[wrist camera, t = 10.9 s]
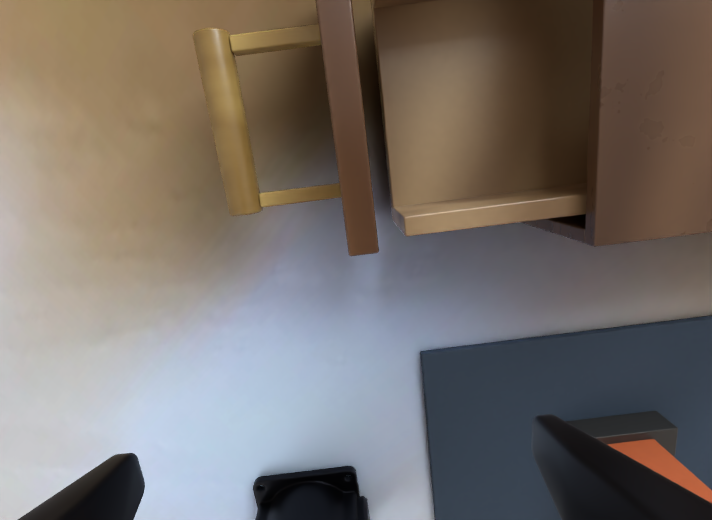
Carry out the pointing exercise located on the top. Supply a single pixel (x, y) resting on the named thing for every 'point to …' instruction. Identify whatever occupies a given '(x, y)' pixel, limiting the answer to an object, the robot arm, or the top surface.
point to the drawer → (430, 112)
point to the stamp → (645, 444)
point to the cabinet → (647, 124)
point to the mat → (556, 407)
